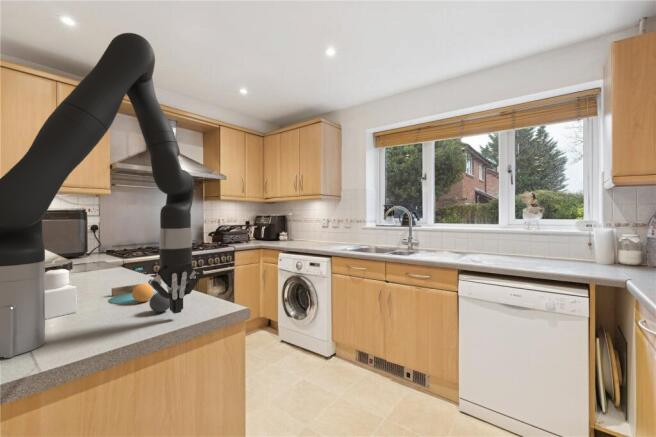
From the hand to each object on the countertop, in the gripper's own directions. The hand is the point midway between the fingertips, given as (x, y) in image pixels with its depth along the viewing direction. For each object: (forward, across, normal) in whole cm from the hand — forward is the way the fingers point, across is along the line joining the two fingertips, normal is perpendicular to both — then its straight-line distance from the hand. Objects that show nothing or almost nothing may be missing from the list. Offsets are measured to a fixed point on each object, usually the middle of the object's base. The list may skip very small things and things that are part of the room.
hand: (176, 312), depth 78 cm
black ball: (-1, 0, -9) cm, 9 cm away
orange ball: (-1, 0, -23) cm, 23 cm away
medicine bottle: (+2, +20, -28) cm, 34 cm away
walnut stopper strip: (+2, 0, -37) cm, 37 cm away
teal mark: (+2, 0, -30) cm, 30 cm away
